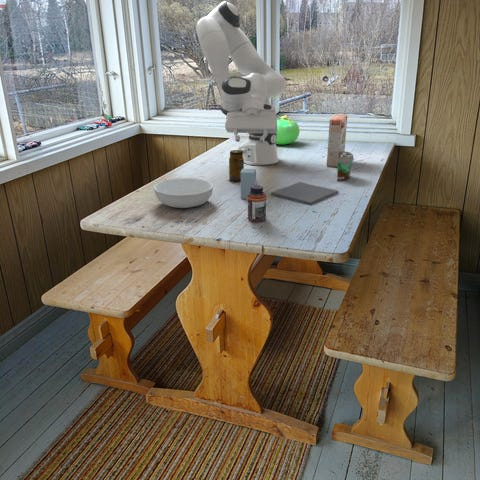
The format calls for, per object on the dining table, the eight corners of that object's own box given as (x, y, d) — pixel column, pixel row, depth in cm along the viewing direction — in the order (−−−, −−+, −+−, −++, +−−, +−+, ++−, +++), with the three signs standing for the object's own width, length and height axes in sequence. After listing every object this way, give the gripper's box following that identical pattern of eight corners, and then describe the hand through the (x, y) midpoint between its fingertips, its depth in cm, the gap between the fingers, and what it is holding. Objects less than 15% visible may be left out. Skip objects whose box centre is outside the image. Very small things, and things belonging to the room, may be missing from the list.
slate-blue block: (240, 198, 187) (240, 172, 183) (242, 194, 191) (242, 168, 187) (254, 199, 186) (254, 172, 182) (256, 194, 190) (255, 168, 186)
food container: (352, 182, 203) (354, 158, 199) (336, 182, 204) (338, 157, 200) (352, 174, 214) (354, 151, 210) (337, 173, 215) (339, 150, 211)
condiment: (241, 176, 213) (241, 148, 209) (248, 182, 206) (248, 153, 201) (225, 178, 211) (224, 150, 206) (232, 184, 204) (231, 154, 199)
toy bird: (302, 142, 273) (303, 114, 268) (292, 149, 259) (293, 119, 254) (271, 140, 280) (271, 113, 275) (260, 146, 266) (260, 117, 260)
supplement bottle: (246, 216, 169) (246, 183, 164) (264, 215, 169) (264, 183, 165) (248, 223, 163) (248, 189, 159) (267, 222, 164) (267, 188, 159)
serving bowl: (190, 218, 169) (189, 198, 166) (143, 207, 179) (141, 189, 176) (224, 200, 185) (224, 182, 182) (179, 192, 195) (178, 174, 192)
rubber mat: (270, 194, 190) (270, 192, 190) (299, 184, 202) (299, 181, 202) (310, 205, 179) (310, 202, 178) (338, 193, 191) (338, 190, 190)
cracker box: (339, 167, 224) (342, 119, 216) (326, 166, 226) (328, 119, 218) (344, 160, 236) (348, 114, 228) (332, 159, 238) (334, 114, 230)
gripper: (225, 105, 197) (221, 135, 192) (278, 106, 193) (275, 137, 188) (228, 115, 202) (224, 145, 197) (279, 116, 199) (276, 146, 194)
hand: (249, 141), depth 193 cm, fingers open, 8 cm apart
